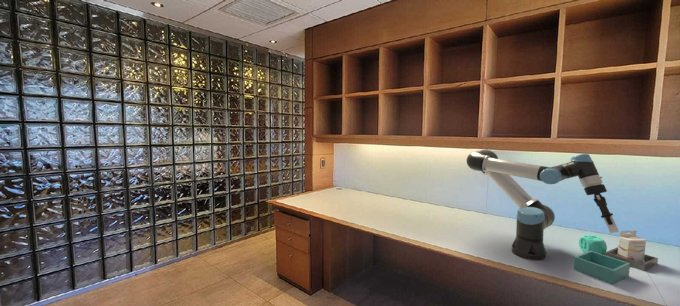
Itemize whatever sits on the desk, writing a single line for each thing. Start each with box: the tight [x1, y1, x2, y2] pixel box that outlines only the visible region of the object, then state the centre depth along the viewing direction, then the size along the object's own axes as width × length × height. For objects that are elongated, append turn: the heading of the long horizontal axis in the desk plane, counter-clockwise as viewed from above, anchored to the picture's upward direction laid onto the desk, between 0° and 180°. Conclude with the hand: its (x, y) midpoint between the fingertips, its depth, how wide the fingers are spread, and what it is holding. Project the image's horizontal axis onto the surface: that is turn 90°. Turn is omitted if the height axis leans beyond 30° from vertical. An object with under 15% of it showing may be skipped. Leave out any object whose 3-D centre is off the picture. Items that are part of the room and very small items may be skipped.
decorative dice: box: [578, 234, 608, 255], centre depth 144 cm, size 8×8×8 cm
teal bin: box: [573, 251, 631, 285], centre depth 125 cm, size 14×14×6 cm
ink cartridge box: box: [617, 229, 647, 263], centre depth 134 cm, size 9×5×15 cm, turn 92°
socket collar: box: [604, 246, 659, 272], centre depth 135 cm, size 14×14×3 cm
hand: (614, 231), depth 125 cm, fingers open, 13 cm apart
